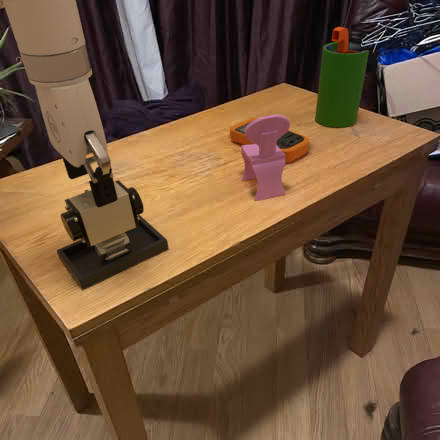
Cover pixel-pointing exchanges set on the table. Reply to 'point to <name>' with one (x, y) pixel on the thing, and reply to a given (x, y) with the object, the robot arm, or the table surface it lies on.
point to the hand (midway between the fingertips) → (92, 189)
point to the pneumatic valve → (103, 220)
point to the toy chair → (265, 155)
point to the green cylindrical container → (340, 82)
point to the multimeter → (287, 143)
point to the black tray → (102, 269)
